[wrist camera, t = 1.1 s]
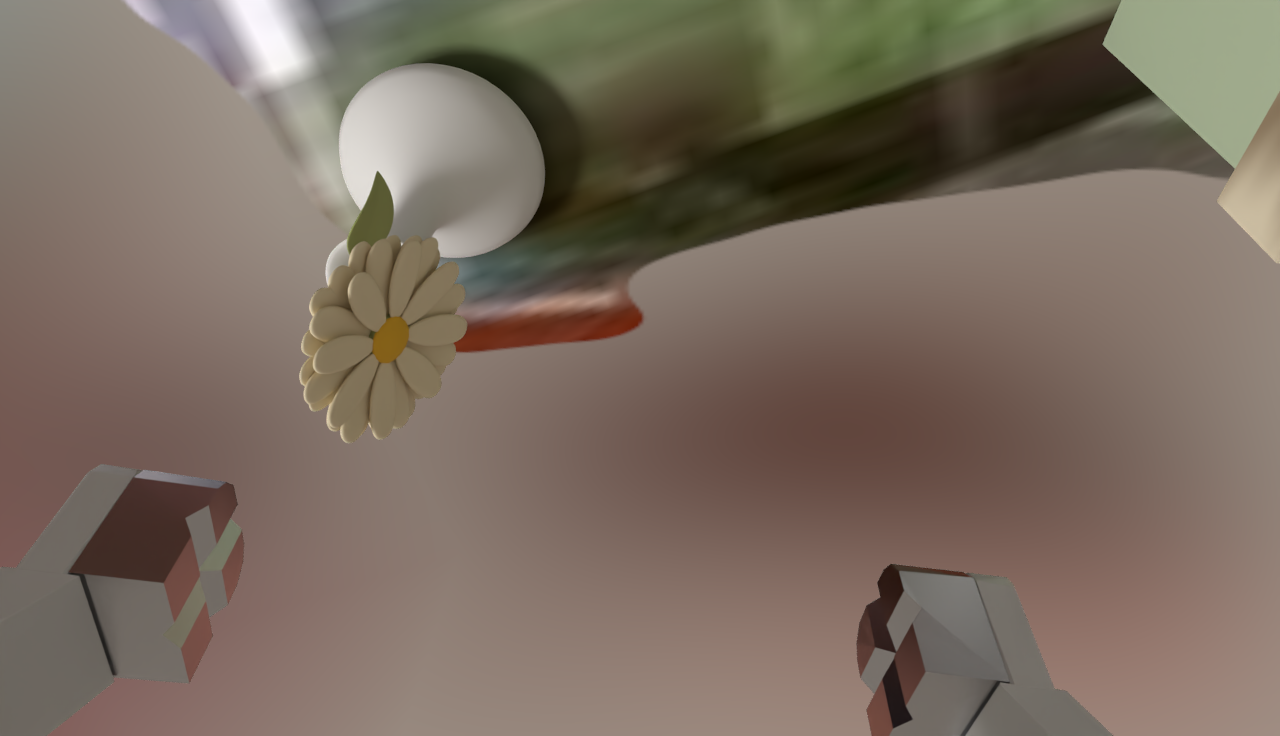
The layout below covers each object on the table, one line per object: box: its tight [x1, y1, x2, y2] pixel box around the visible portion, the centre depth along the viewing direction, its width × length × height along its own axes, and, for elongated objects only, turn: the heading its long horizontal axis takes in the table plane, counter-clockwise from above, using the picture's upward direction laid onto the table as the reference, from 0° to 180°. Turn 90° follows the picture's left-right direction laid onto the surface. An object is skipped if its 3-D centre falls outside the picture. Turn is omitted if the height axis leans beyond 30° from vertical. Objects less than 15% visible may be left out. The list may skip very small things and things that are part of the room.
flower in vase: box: [299, 63, 545, 443], centre depth 41 cm, size 13×11×25 cm
